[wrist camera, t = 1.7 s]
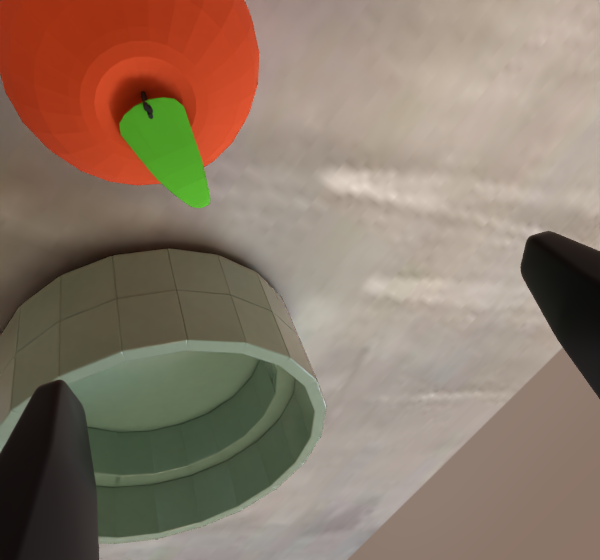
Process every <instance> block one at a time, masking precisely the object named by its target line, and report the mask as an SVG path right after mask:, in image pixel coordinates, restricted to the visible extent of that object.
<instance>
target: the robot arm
mask: <svg viewBox="0 0 600 560" xmlns="http://www.w3.org/2000/svg"><path fill="white" fill-rule="evenodd" d="M521 274H522V277H523V279H524V281H525V282H526V284H527V286H528V288H529V290H530V291H531V293H532V295H533V297H534V299H535V300H536V302H537V304H538V306H539V308H540V309H541V311H542V313H543V315H544V317H545V318H546V320H547V322H548V324H549V326H550V327H551V329H552V331H553V333H554V334H555V336H556V338H557V339H558V341H559V342H560V344H561V345H562V347H563V348H564V350H565V351H566V352H567V354H568V355H569V357H570V358H571V359H572V361H573V362H574V364H575V365H576V366H577V368H578V369H579V371H580V372H581V373H582V375H583V376H584V378H585V379H586V380H587V382H588V383H589V385H590V386H591V387H592V389H593V390H594V392H595V393H596V394H597V396H598V397H599V399H600V251H598V250H595V249H593V248H591V247H588V246H586V245H583V244H581V243H578V242H576V241H574V240H571V239H569V238H566V237H564V236H562V235H559V234H557V233H554V232H551V231H546V232H542V233H539V234H535V235H532V236H530V237H529V238H528V239H527V241H526V245H525V249H524V253H523V258H522V262H521ZM0 560H99V540H98V503H97V489H96V481H95V475H94V468H93V461H92V455H91V448H90V441H89V435H88V428H87V421H86V415H85V411H84V408H83V406H82V404H81V402H80V401H79V399H78V398H77V397H76V395H75V394H74V393H73V391H72V390H71V389H70V387H69V386H68V385H67V383H66V382H65V381H63V380H55V381H52V382H49V383H45V384H42V385H40V386H38V387H37V388H36V390H35V391H34V393H33V395H32V397H31V398H30V400H29V402H28V404H27V406H26V407H25V409H24V411H23V413H22V415H21V416H20V418H19V420H18V422H17V424H16V425H15V427H14V429H13V431H12V433H11V434H10V436H9V438H8V440H7V442H6V444H5V445H4V447H3V449H2V451H1V453H0Z"/></svg>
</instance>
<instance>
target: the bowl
mask: <svg viewBox="0 0 600 560" xmlns="http://www.w3.org/2000/svg"><path fill="white" fill-rule="evenodd" d="M55 380H63V381H65V382H66V383H67V385H68V386H69V387H70V389H71V390H72V391H73V393H74V394H75V395H76V397H77V398H78V399H79V401H80V402H81V404H82V406H83V408H84V411H85V415H86V421H87V428H88V435H89V441H90V448H91V455H92V461H93V468H94V475H95V481H96V489H97V503H98V540H99V543H100V544H119V543H127V542H136V541H144V540H152V539H158V538H163V537H166V536H170V535H174V534H178V533H181V532H185V531H189V530H192V529H196V528H200V527H202V526H206V525H208V524H210V523H213V522H215V521H218V520H220V519H222V518H225V517H227V516H229V515H232V514H234V513H236V512H239V511H241V510H242V509H245V508H246V507H248V506H250V505H251V504H253V503H254V502H256V501H258V500H259V499H261V498H262V497H264V496H266V495H267V494H269V493H270V492H272V491H274V490H275V489H277V488H278V487H279V486H280V485H281V484H282V483H283V482H284V481H286V480H287V479H288V478H289V477H290V476H291V475H292V474H293V473H294V472H295V471H296V470H297V469H298V468H300V467H301V466H302V465H303V464H304V463H305V461H306V460H307V458H308V457H309V455H310V453H311V452H312V450H313V449H314V447H315V445H316V444H317V442H318V441H319V439H320V438H321V435H322V430H323V424H324V419H325V413H326V407H327V406H326V403H325V400H324V398H323V395H322V392H321V389H320V386H319V384H318V381H317V378H316V376H315V374H314V371H313V369H312V367H311V364H310V362H309V360H308V357H307V355H306V353H305V350H304V348H303V346H302V343H301V341H300V339H299V336H298V334H297V332H296V329H295V327H294V325H293V322H292V320H291V318H290V315H289V313H288V311H287V308H286V306H285V304H284V301H283V299H282V297H281V295H279V294H278V293H277V292H276V291H275V290H274V289H273V288H272V287H271V286H270V285H269V284H268V283H267V282H266V281H265V280H264V279H263V278H262V277H261V276H260V275H259V274H258V273H257V272H255V271H253V270H251V269H249V268H246V267H244V266H242V265H240V264H237V263H235V262H233V261H231V260H228V259H226V258H224V257H221V256H219V255H216V254H209V253H201V252H194V251H186V250H178V249H170V248H168V249H159V250H151V251H143V252H135V253H127V254H119V255H113V257H112V256H109V257H107V258H104V259H101V260H99V261H96V262H94V263H91V264H88V265H86V266H83V267H81V268H78V269H75V270H73V271H70V272H68V273H65V274H62V275H61V276H59V277H57V278H56V279H55V280H53V281H52V282H51V283H49V284H48V285H47V286H45V287H44V288H43V289H41V290H40V291H39V292H38V293H36V294H35V295H34V296H32V297H31V298H30V299H28V300H27V301H26V302H24V303H23V304H22V305H21V306H19V308H18V309H17V311H16V312H15V314H14V316H13V317H12V319H11V320H10V322H9V323H8V325H7V326H6V328H5V330H4V331H3V333H2V334H1V336H0V453H1V451H2V449H3V447H4V445H5V444H6V442H7V440H8V438H9V436H10V434H11V433H12V431H13V429H14V427H15V425H16V424H17V422H18V420H19V418H20V416H21V415H22V413H23V411H24V409H25V407H26V406H27V404H28V402H29V400H30V398H31V397H32V395H33V393H34V391H35V390H36V388H37V387H38V386H40V385H42V384H45V383H49V382H52V381H55Z"/></svg>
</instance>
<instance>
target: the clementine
mask: <svg viewBox="0 0 600 560" xmlns="http://www.w3.org/2000/svg"><path fill="white" fill-rule="evenodd" d="M258 69H259V49H258V45H257V40H256V36H255V31H254V26H253V22H252V18H251V15H250V12H249V9H248V7H247V5H246V3H245V1H244V0H0V74H1V78H2V82H3V85H4V89H5V92H6V94H7V96H8V97H9V99H10V101H11V103H12V104H13V106H14V108H15V110H16V111H17V113H18V115H19V117H20V118H21V120H22V122H23V123H24V124H25V125H26V126H27V127H28V128H29V129H30V130H31V132H32V133H33V134H34V135H35V136H36V137H37V138H38V139H39V140H40V141H41V142H42V143H43V144H44V145H45V146H46V147H47V148H48V149H49V150H51V151H52V152H53V153H55V154H56V155H58V156H59V157H61V158H62V159H64V160H65V161H67V162H68V163H70V164H71V165H73V166H74V167H76V168H77V169H79V170H80V171H83V172H85V173H88V174H91V175H93V176H96V177H99V178H101V179H104V180H107V181H110V182H117V183H124V184H131V185H148V184H161V183H162V184H163V185H164V186H165V187H166V188H167V189H168V190H169V191H171V192H172V193H173V194H174V195H175V196H177V197H178V198H179V199H181V200H182V201H183V202H185V203H186V204H188V205H189V206H191V207H195V208H202V207H205V206H207V205H209V204H210V194H209V188H208V184H207V180H206V176H205V171H204V167H205V166H206V165H208V164H210V163H211V162H213V161H214V160H215V159H216V158H217V157H218V156H219V155H220V154H221V153H222V152H223V151H224V150H225V149H226V148H227V147H228V146H229V145H230V144H231V143H232V142H233V140H234V139H235V137H236V135H237V134H238V132H239V130H240V129H241V127H242V125H243V124H244V122H245V120H246V118H247V116H248V114H249V112H250V109H251V105H252V102H253V98H254V95H255V92H256V88H257V85H258Z"/></svg>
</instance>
